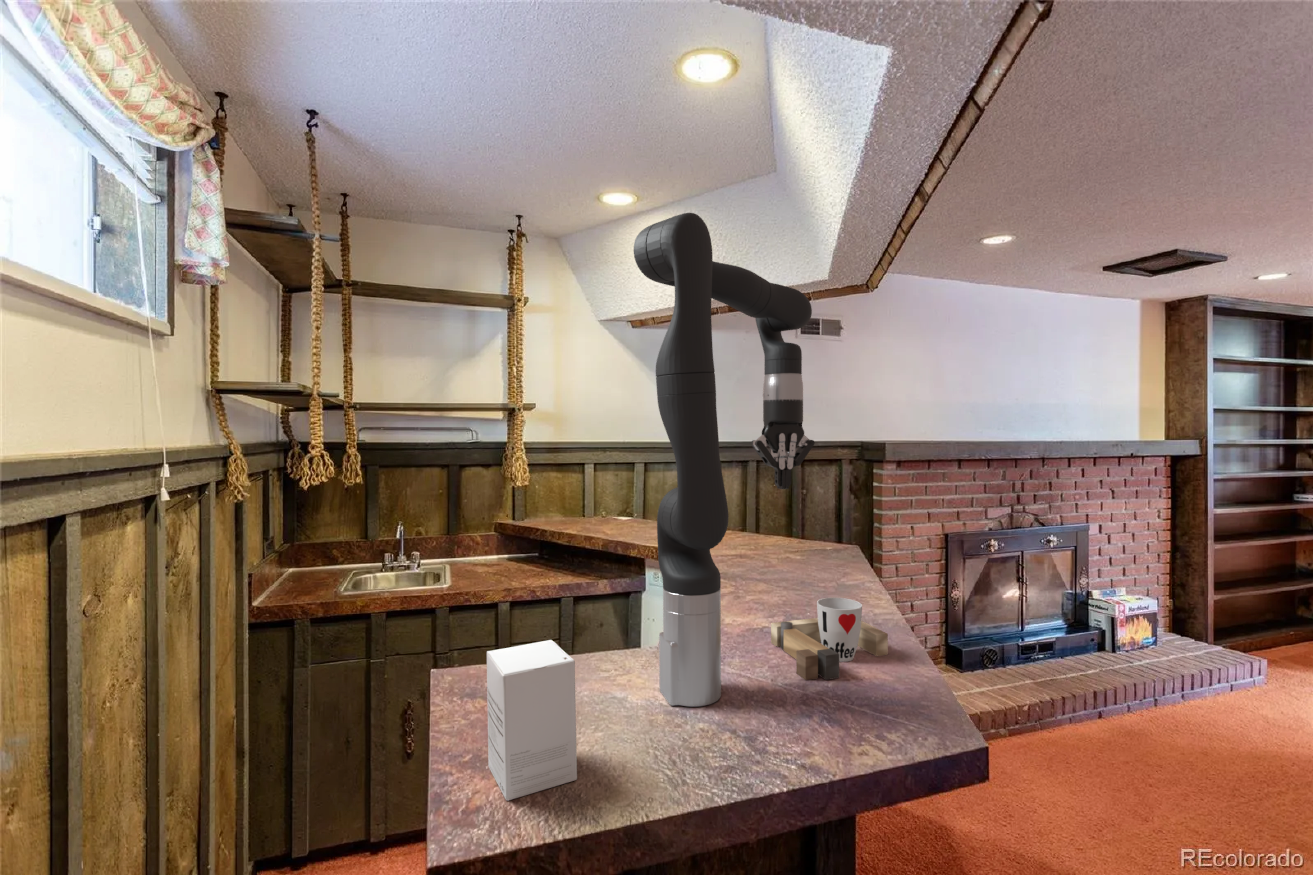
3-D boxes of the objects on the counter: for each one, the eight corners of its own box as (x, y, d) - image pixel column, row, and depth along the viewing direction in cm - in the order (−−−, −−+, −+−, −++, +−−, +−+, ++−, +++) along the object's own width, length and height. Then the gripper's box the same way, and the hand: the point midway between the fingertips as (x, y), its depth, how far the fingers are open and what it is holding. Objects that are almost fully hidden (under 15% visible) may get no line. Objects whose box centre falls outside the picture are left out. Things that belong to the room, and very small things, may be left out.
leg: (825, 679, 105) (825, 651, 105) (777, 646, 121) (777, 622, 121) (839, 677, 106) (839, 649, 106) (789, 645, 122) (789, 620, 122)
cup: (813, 660, 114) (813, 606, 114) (821, 646, 122) (821, 595, 122) (859, 667, 111) (859, 612, 111) (864, 652, 118) (864, 600, 118)
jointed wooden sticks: (805, 680, 106) (805, 656, 106) (757, 644, 123) (757, 624, 123) (907, 665, 112) (907, 643, 112) (848, 633, 129) (848, 614, 129)
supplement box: (554, 748, 84) (553, 637, 84) (578, 781, 76) (577, 659, 76) (486, 765, 80) (485, 649, 79) (504, 803, 72) (503, 674, 71)
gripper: (760, 397, 114) (760, 491, 115) (823, 398, 118) (823, 489, 118) (743, 399, 121) (743, 488, 122) (803, 399, 125) (803, 485, 126)
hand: (783, 488), depth 120 cm, fingers closed
